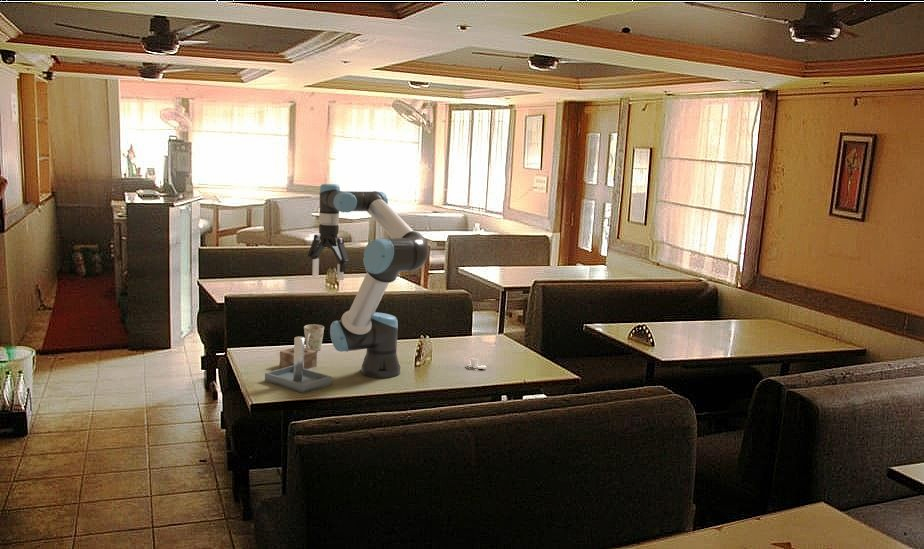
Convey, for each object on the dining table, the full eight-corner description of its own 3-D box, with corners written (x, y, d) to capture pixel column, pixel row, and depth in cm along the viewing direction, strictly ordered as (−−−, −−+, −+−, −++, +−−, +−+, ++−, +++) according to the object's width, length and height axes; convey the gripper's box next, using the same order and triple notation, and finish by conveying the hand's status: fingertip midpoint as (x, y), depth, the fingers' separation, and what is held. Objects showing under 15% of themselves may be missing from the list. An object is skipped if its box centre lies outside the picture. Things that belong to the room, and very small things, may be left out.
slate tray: (331, 384, 279) (331, 376, 278) (303, 393, 267) (303, 385, 267) (293, 372, 290) (293, 365, 289) (264, 380, 279) (264, 373, 278)
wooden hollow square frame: (316, 366, 300) (316, 351, 299) (297, 371, 292) (297, 356, 291) (298, 361, 305) (299, 346, 304) (279, 366, 297) (279, 351, 296)
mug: (325, 347, 326) (326, 325, 325) (317, 355, 314) (318, 332, 312) (306, 346, 327) (307, 323, 325) (297, 354, 315) (298, 330, 313)
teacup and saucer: (489, 370, 308) (489, 361, 307) (472, 372, 304) (472, 363, 303) (477, 364, 315) (478, 355, 314) (461, 366, 311) (461, 357, 310)
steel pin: (305, 380, 279) (306, 337, 276) (298, 382, 276) (299, 339, 273) (298, 377, 281) (299, 335, 278) (291, 380, 278) (292, 337, 275)
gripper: (359, 226, 292) (357, 281, 295) (313, 220, 306) (312, 272, 309) (345, 227, 286) (344, 283, 289) (299, 221, 299) (298, 274, 303)
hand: (327, 277), depth 299 cm, fingers open, 13 cm apart
